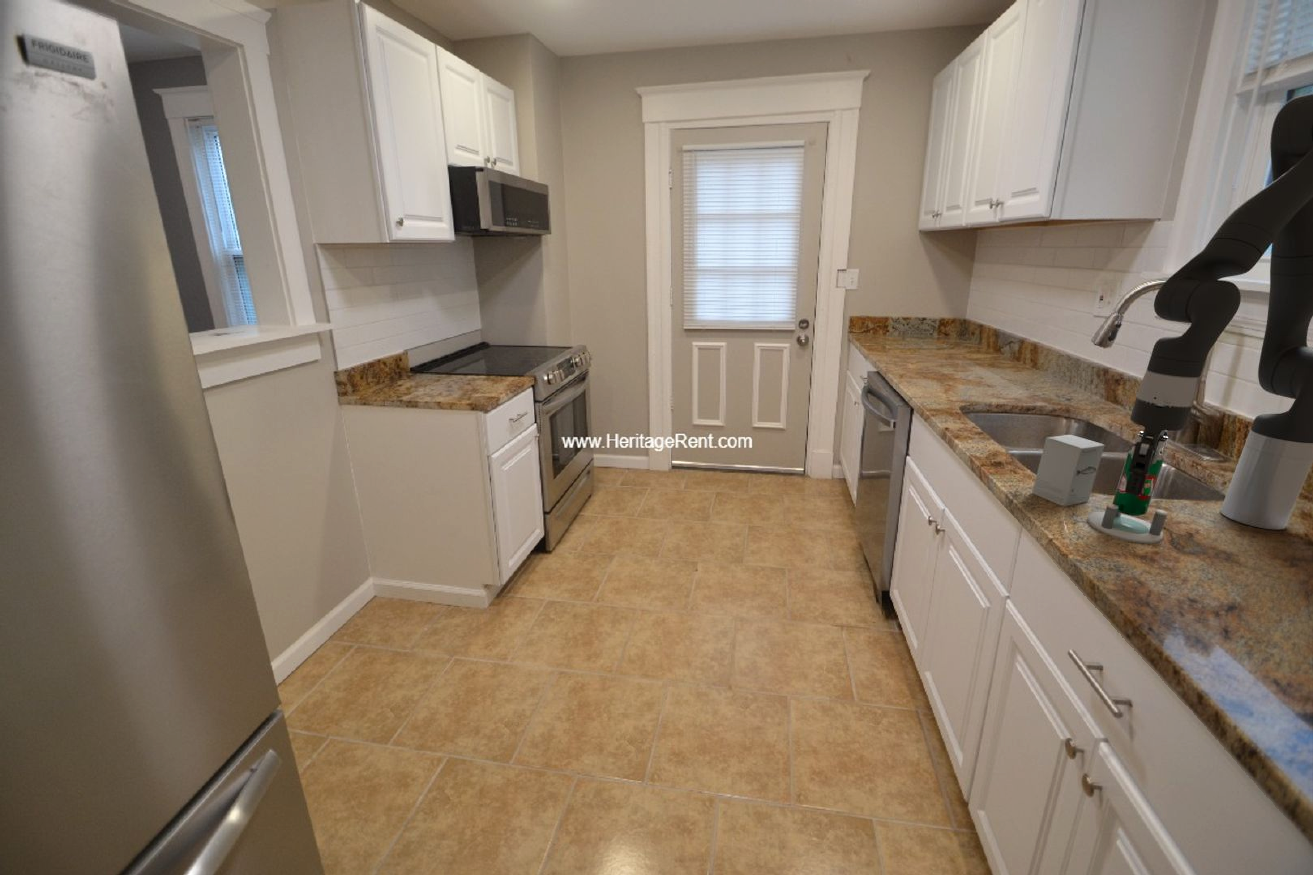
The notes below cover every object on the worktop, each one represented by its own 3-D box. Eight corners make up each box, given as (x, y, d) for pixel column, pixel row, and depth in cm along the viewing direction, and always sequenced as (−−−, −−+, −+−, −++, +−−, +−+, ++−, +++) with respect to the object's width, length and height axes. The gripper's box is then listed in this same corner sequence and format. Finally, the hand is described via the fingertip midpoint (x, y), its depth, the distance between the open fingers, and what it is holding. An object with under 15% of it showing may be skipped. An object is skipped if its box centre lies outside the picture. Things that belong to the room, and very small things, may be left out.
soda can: (1112, 503, 111) (1130, 443, 107) (1145, 511, 108) (1166, 449, 104) (1110, 511, 107) (1129, 450, 104) (1145, 520, 104) (1166, 457, 101)
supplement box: (1065, 507, 117) (1081, 448, 113) (1030, 493, 124) (1044, 436, 119) (1089, 502, 120) (1106, 444, 116) (1054, 488, 126) (1069, 433, 122)
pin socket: (1095, 510, 116) (1102, 486, 114) (1166, 530, 109) (1175, 505, 107) (1081, 527, 109) (1088, 502, 107) (1156, 549, 101) (1165, 523, 100)
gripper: (1145, 388, 108) (1118, 474, 114) (1129, 401, 99) (1101, 493, 104) (1198, 397, 103) (1168, 486, 108) (1187, 411, 94) (1154, 507, 99)
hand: (1135, 489), depth 106 cm, fingers closed on soda can, 5 cm apart
